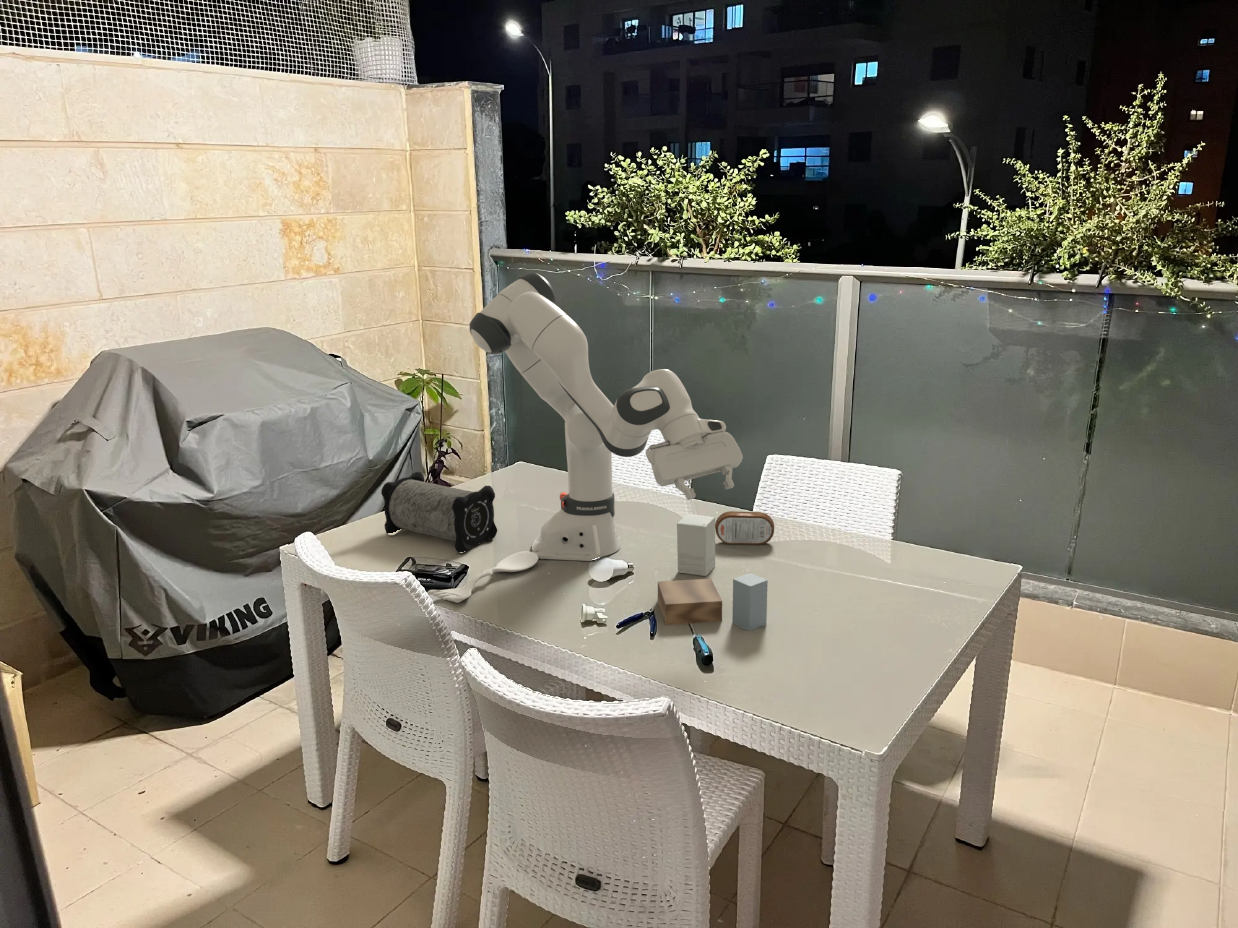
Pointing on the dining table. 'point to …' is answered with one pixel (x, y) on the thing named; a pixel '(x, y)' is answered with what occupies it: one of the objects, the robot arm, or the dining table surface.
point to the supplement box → (696, 544)
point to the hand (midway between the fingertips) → (711, 492)
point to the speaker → (440, 511)
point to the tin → (744, 528)
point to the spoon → (507, 564)
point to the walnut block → (689, 601)
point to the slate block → (749, 601)
